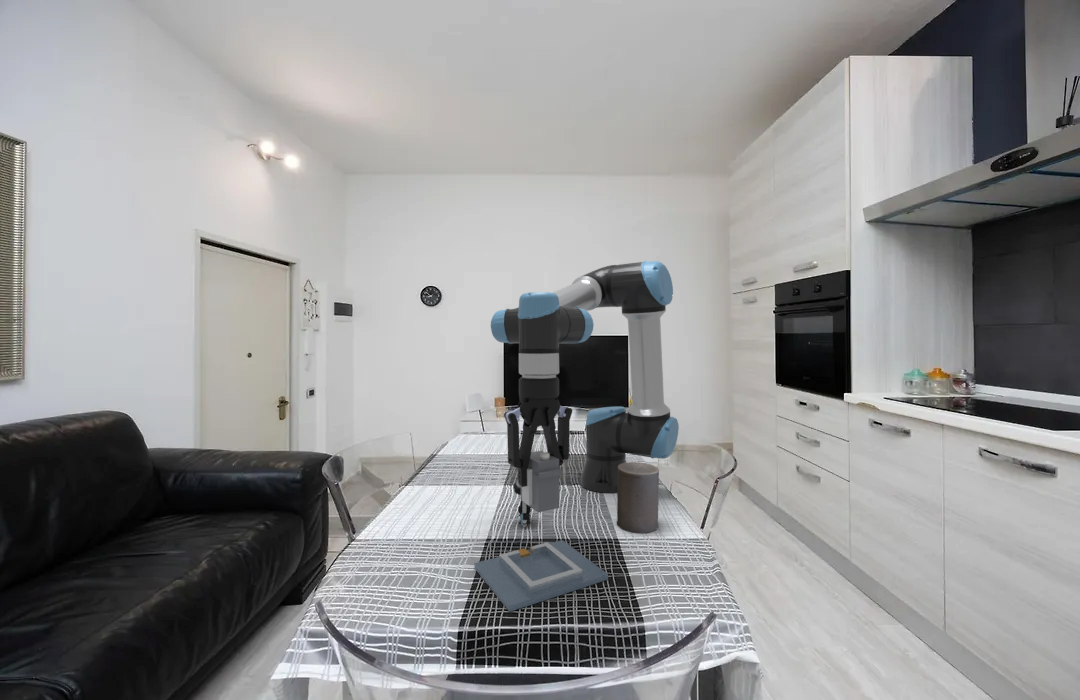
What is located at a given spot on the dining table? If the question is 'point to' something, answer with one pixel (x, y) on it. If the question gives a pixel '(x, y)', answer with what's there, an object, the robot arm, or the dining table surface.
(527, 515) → the push button
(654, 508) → the pillar candle
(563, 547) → the plate
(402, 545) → the dining table surface
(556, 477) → the servo
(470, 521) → the dining table surface
